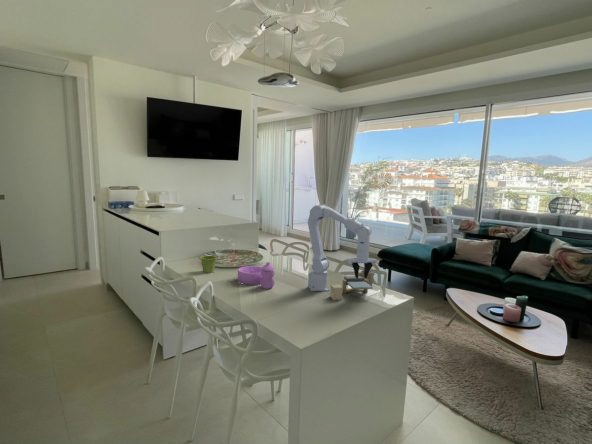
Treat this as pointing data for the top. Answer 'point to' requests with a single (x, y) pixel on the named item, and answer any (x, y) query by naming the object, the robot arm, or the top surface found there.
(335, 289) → the block
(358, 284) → the trapdoor
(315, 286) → the robot arm
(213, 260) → the plant pot
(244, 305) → the top surface
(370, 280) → the rock
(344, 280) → the frame
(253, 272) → the container set
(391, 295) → the top surface
